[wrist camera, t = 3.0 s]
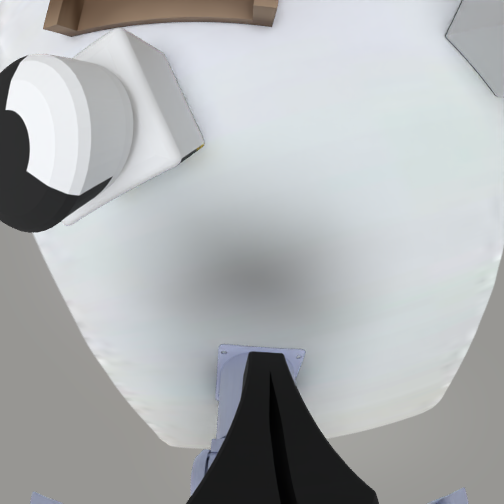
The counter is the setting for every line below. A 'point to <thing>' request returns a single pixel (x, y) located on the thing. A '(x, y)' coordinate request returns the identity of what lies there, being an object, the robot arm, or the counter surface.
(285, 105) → the counter surface
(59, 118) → the medicine bottle
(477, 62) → the milk carton
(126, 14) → the wooden tray
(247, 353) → the robot arm
